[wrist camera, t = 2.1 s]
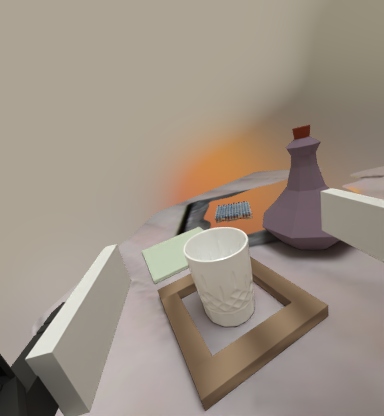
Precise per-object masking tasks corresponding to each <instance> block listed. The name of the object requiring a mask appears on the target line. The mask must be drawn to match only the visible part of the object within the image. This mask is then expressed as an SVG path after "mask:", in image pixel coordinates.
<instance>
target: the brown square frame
mask: <svg viewBox="0 0 384 416" xmlns="http://www.w3.org/2000/svg"><path fill="white" fill-rule="evenodd" d="M250 260H251V268H252V279H253V281H254V282H255V283H257V284H258V285H259V286H261V287H262V288H263V289H264V290H266V291H267V292H268V293H270V294H271V295H272V296H273V297H275V298H276V299H277V300H279V301H280V302H281V303H282V304H284V305H285V306H286V307H284V308H283V309H281V310H280V311H278V312H277V313H275V314H274V315H272V316H271V317H269V318H268V319H267V320H265V321H264V322H262V323H261V324H259V325H258V326H256V327H255V328H253V329H252V330H250V331H249V332H247V333H246V334H244V335H243V336H242V337H240V338H239V339H237V340H236V341H234V342H233V343H231V344H230V345H228V346H227V347H225V348H224V349H222V350H221V351H219V352H218V353H217V354H215V355H214V356H212V355H211V353H210V351H209V349H208V347H207V346H206V344H205V342H204V340H203V338H202V337H201V335H200V333H199V331H198V329H197V327H196V326H195V324H194V322H193V320H192V318H191V317H190V315H189V313H188V311H187V309H186V308H185V306H184V304H183V302H182V300H181V299H182V298H183V297H185V296H187V295H189V294H191V293H193V292H195V291H197V288H196V286H195V284H194V281H193V278H192V275H191V274H189V275H187V276H185V277H183V278H181V279H179V280H177V281H175V282H173V283H171V284H169V285H167V286H165V287H163V288H161V289H159V290H158V293H159V296H160V298H161V301H162V303H163V306H164V308H165V311H166V313H167V316H168V318H169V321H170V323H171V326H172V328H173V331H174V333H175V336H176V338H177V341H178V343H179V346H180V348H181V351H182V353H183V356H184V358H185V361H186V363H187V366H188V368H189V371H190V373H191V376H192V378H193V381H194V383H195V386H196V388H197V391H198V394H199V396H200V399H201V401H202V404H203V406H204V409H205V411H206V410H207V409H209V408H210V407H211V406H212V405H214V404H215V403H216V402H218V401H219V400H220V399H221V398H223V397H224V396H225V395H227V394H228V393H229V392H230V391H232V390H233V389H234V388H236V387H237V386H238V385H239V384H241V383H242V382H243V381H245V380H246V379H247V378H249V377H250V376H251V375H252V374H254V373H255V372H256V371H258V370H259V369H260V368H261V367H263V366H264V365H265V364H267V363H268V362H269V361H270V360H272V359H273V358H274V357H276V356H277V355H278V354H279V353H281V352H282V351H283V350H285V349H286V348H287V347H289V346H290V345H291V344H292V343H294V342H295V341H296V340H298V339H299V338H300V337H301V336H303V335H304V334H305V333H307V332H308V331H309V330H310V329H312V328H313V327H314V326H316V325H317V324H318V323H319V322H321V321H322V320H323V319H325V318H326V317H327V316H328V305H327V304H325V303H323V302H322V301H320V300H319V299H317V298H315V297H314V296H312V295H311V294H309V293H307V292H306V291H304V290H303V289H301V288H299V287H298V286H296V285H295V284H293V283H291V282H290V281H288V280H287V279H285V278H283V277H282V276H280V275H279V274H277V273H275V272H274V271H272V270H271V269H269V268H268V267H266V266H264V265H263V264H261V263H260V262H258V261H256V260H255V259H253V258H252V257H250Z"/></svg>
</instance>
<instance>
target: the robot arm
mask: <svg viewBox="0 0 384 416" xmlns="http://www.w3.org/2000/svg"><path fill="white" fill-rule="evenodd" d="M321 220H322V231H324V232H326V233H328V234H330V235H332V236H334V237H336V238H338V239H340V240H342V241H344V242H345V243H347V244H349V245H351V246H353V247H355V248H357V249H359V250H361V251H363V252H365V253H367V254H368V255H370V256H372V257H374V258H376V259H378V260H380V261H382V262H384V200H382V199H378V198H373V197H369V196H364V195H360V194H356V193H351V192H346V191H342V190H338V189H333V188H331V189H327V190H323V191H321ZM130 284H131V278H130V275H129V273H128V270H127V268H126V265H125V263H124V260H123V258H122V255H121V253H120V250H119V248H118V245H117V244H115V245H111V246H108V247H105V248H104V249H103V250H102V252H101V254H100V255H99V256H98V258H97V259H96V260H95V262H94V263H93V264H92V266H91V267H90V269H89V270H88V271H87V273H86V274H85V276H84V277H83V279H82V280H81V281H80V283H79V284H78V286H77V287H76V288H75V290H74V291H73V293H72V294H71V295H70V297H69V298H68V300H67V301H66V302H63V303H62V304H61V305H60V306H59V307H57V308H56V309H55V310H54V311H53V312H52V313H51V314H50V316H49V317H48V318H47V320H46V321H45V322H44V325H43V326H41V328H40V329H39V330H38V332H37V334H36V335H35V336H34V337H33V338H32V340H31V341H30V342H29V344H28V345H27V346H26V348H25V349H24V350H23V352H22V353H21V354H20V356H19V357H18V358H17V360H16V361H15V362H14V364H13V365H12V366H11V367H10V366H9V365H8V364H7V362H6V361H5V360H4V358H3V357H2V356H1V354H0V416H55V414H56V412H57V410H58V408H59V409H60V410H61V412H62V413H63V415H64V416H78V415H82V414H85V413H89V412H90V410H91V407H92V404H93V401H94V397H95V394H96V391H97V388H98V385H99V382H100V379H101V375H102V372H103V369H104V366H105V363H106V360H107V357H108V353H109V350H110V347H111V344H112V341H113V338H114V335H115V331H116V328H117V325H118V322H119V319H120V316H121V312H122V309H123V306H124V303H125V300H126V297H127V294H128V290H129V287H130Z"/></svg>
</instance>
